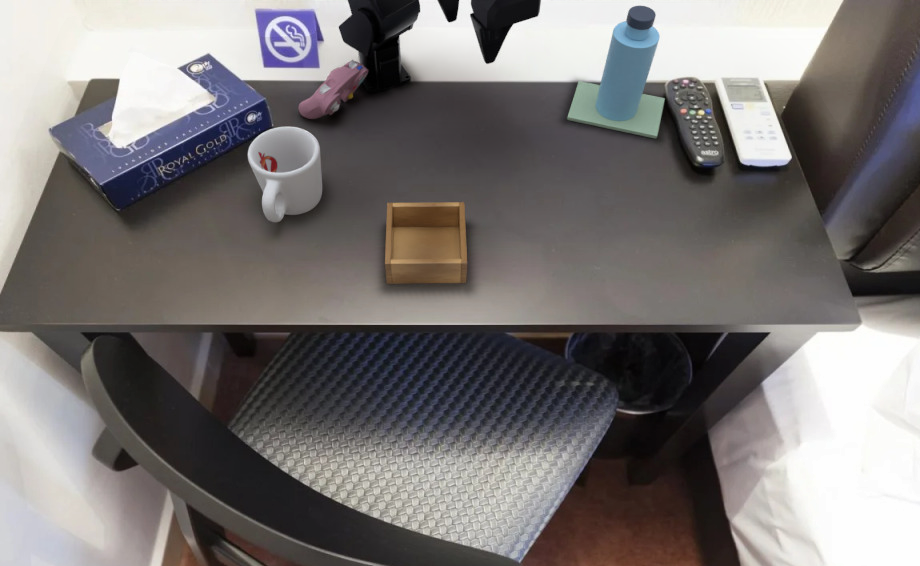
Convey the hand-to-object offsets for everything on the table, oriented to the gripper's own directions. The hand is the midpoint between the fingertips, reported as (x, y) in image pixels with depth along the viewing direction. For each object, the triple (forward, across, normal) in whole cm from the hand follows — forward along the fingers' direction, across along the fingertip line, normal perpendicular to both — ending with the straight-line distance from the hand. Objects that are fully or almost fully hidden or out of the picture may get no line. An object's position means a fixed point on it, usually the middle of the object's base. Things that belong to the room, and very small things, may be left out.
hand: (470, 41), depth 77 cm
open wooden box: (+13, -17, +14) cm, 26 cm away
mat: (+13, -6, -20) cm, 25 cm away
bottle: (+13, -6, -20) cm, 24 cm away
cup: (+13, -3, +26) cm, 29 cm away
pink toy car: (+13, +12, +14) cm, 22 cm away
